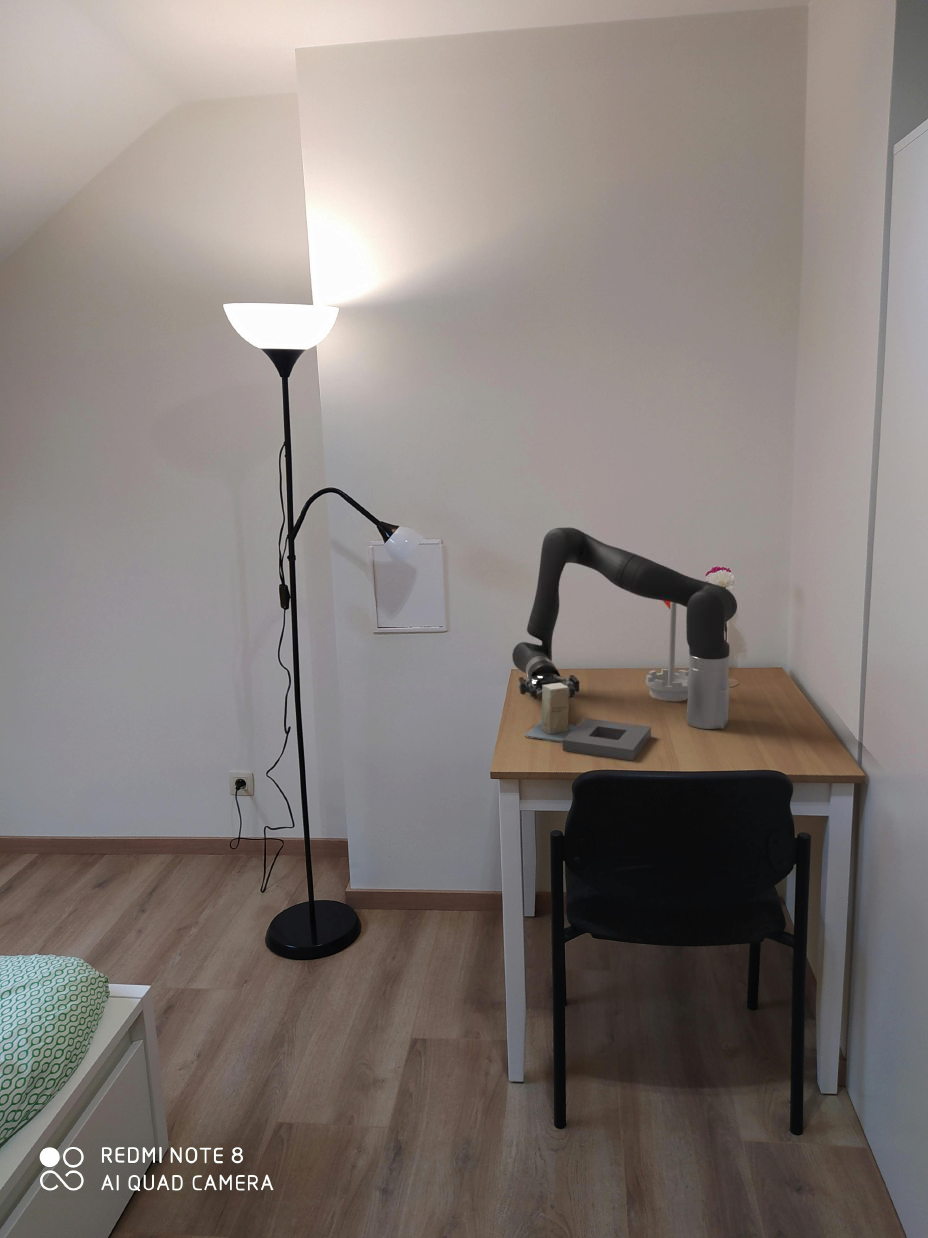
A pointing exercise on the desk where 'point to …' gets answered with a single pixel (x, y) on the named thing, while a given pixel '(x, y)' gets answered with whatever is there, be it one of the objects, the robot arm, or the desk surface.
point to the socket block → (589, 743)
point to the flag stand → (669, 671)
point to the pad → (541, 734)
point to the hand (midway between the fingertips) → (553, 694)
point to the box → (555, 708)
